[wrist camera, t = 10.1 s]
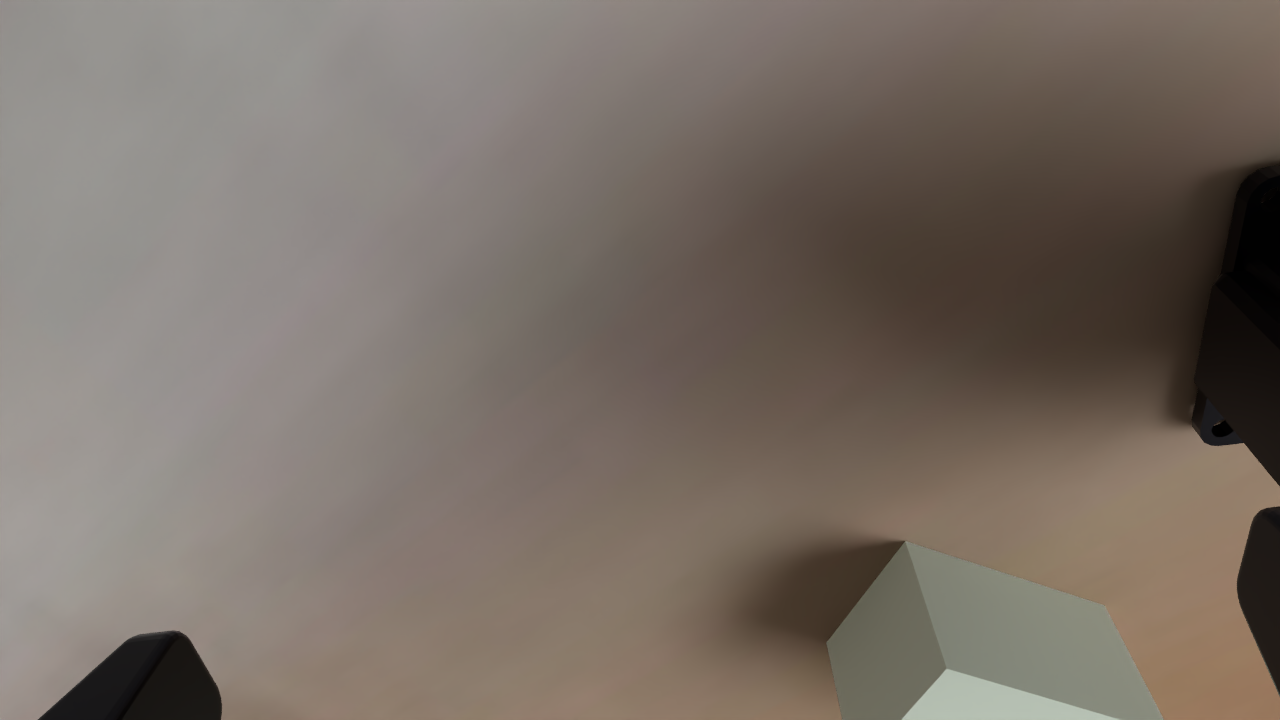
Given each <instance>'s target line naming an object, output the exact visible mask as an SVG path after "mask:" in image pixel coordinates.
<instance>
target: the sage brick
mask: <svg viewBox="0 0 1280 720" xmlns="http://www.w3.org/2000/svg"><path fill="white" fill-rule="evenodd" d="M827 648H828V653H829V658H830V663H831V667H832V672H833V677H834V682H835V687H836V691H837V696H838V701H839V706H840V711H841V716H842V720H1164V719H1163V717H1162V715H1161V713H1160V711H1159V709H1158V707H1157V705H1156V703H1155V701H1154V700H1153V698H1152V696H1151V694H1150V692H1149V690H1148V688H1147V686H1146V684H1145V682H1144V680H1143V678H1142V676H1141V675H1140V673H1139V671H1138V669H1137V667H1136V665H1135V663H1134V661H1133V659H1132V657H1131V655H1130V653H1129V651H1128V650H1127V648H1126V646H1125V644H1124V642H1123V640H1122V638H1121V636H1120V634H1119V632H1118V630H1117V628H1116V626H1115V624H1114V623H1113V621H1112V619H1111V617H1110V615H1109V613H1108V611H1107V609H1106V607H1105V605H1102V604H1099V603H1096V602H1093V601H1090V600H1086V599H1083V598H1080V597H1077V596H1074V595H1071V594H1068V593H1065V592H1062V591H1059V590H1056V589H1052V588H1049V587H1046V586H1043V585H1040V584H1037V583H1034V582H1031V581H1028V580H1025V579H1022V578H1018V577H1015V576H1012V575H1009V574H1006V573H1003V572H1000V571H997V570H994V569H991V568H987V567H984V566H981V565H978V564H975V563H972V562H969V561H966V560H963V559H960V558H957V557H953V556H950V555H947V554H944V553H941V552H938V551H935V550H932V549H929V548H926V547H922V546H919V545H916V544H913V543H910V542H907V541H905V542H904V543H903V545H902V546H901V547H900V548H899V550H898V551H897V552H896V554H895V555H894V556H893V557H892V559H891V560H890V561H889V563H888V564H887V565H886V566H885V568H884V569H883V570H882V572H881V573H880V574H879V576H878V577H877V578H876V579H875V581H874V582H873V583H872V585H871V586H870V587H869V588H868V590H867V591H866V592H865V594H864V595H863V596H862V597H861V599H860V600H859V601H858V603H857V604H856V605H855V606H854V608H853V609H852V610H851V612H850V613H849V614H848V615H847V617H846V618H845V619H844V621H843V622H842V623H841V624H840V626H839V627H838V628H837V630H836V631H835V632H834V634H833V635H832V636H831V637H830V639H829V640H828V641H827Z"/></svg>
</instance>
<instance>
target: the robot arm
mask: <svg viewBox="0 0 1280 720" xmlns="http://www.w3.org/2000/svg"><path fill="white" fill-rule="evenodd" d="M1276 187H1277V191H1276V193H1275V195H1274V196H1273V197H1272V198H1271V199H1269V200H1268V201H1266V202H1263V203H1261V202H1260V201H1261V199H1262V197H1263V195H1264V194H1265V193H1267V192H1268V191H1269V190H1271V189H1273V188H1276ZM1194 381H1195V384H1196V385H1197V386H1198V391H1197V396H1196V401H1195V406H1194V411H1193V416H1192V427H1193V428H1194V430H1195V431H1196V432H1197V433H1198V435H1199V436H1200V437H1201V439H1202V440H1203V441H1204V443H1207V444H1209V445H1213V446H1222V445H1230V444H1239V443H1244V444H1245V445H1246V446H1247V447H1248V448H1249V450H1250V451H1251V452H1252V453H1253V454H1254V456H1255V457H1256V458H1257V459H1258V461H1259V462H1260V463H1261V464H1262V465H1263V467H1264V468H1265V469H1266V470H1267V472H1268V473H1269V474H1270V475H1271V476H1272V478H1273V479H1274V480H1275V481H1276V482H1277V484H1278V485H1279V486H1280V165H1278V166H1270V167H1266V168H1263V169H1260V170H1257V171H1256V172H1254V173H1252V174H1251V175H1249V176H1248V177H1247V178H1246V179H1245V180H1244V182H1243V183H1242V184H1241V185H1240V188H1239V190H1238V192H1237V195H1236V200H1235V205H1234V210H1233V215H1232V220H1231V225H1230V230H1229V235H1228V240H1227V245H1226V250H1225V255H1224V260H1223V265H1222V270H1221V275H1220V276H1219V277H1218V279H1217V280H1216V281H1215V283H1214V284H1213V286H1212V290H1211V295H1210V300H1209V305H1208V311H1207V316H1206V321H1205V326H1204V331H1203V336H1202V341H1201V346H1200V351H1199V357H1198V362H1197V367H1196V372H1195V377H1194ZM1223 419H1225V420H1224V421H1223V422H1221V423H1220V424H1218V425H1215V426H1214V424H1216V423H1217V422H1218V421H1220V420H1223ZM1237 593H1238V599H1239V603H1240V606H1241V609H1242V611H1243V614H1244V616H1245V618H1246V621H1247V623H1248V625H1249V628H1250V630H1251V632H1252V634H1253V637H1254V639H1255V641H1256V644H1257V646H1258V648H1259V650H1260V653H1261V655H1262V657H1263V659H1264V662H1265V664H1266V666H1267V669H1268V671H1269V673H1270V675H1271V678H1272V680H1273V682H1274V685H1275V687H1276V689H1277V691H1278V694H1279V696H1280V507H1271V508H1265V509H1263V510H1260V511H1259V512H1258V513H1257V514H1256V516H1255V517H1254V518H1253V521H1252V524H1251V527H1250V531H1249V535H1248V539H1247V543H1246V547H1245V550H1244V554H1243V558H1242V562H1241V566H1240V570H1239V573H1238V578H1237ZM221 715H222V703H221V696H220V693H219V689H218V687H217V685H216V683H215V682H214V680H213V678H212V677H211V675H210V673H209V671H208V670H207V668H206V666H205V665H204V663H203V661H202V659H201V658H200V656H199V654H198V653H197V651H196V649H195V648H194V646H193V644H192V642H191V641H190V639H189V638H188V637H187V636H186V635H184V634H183V633H181V632H180V631H165V632H157V633H148V634H140V635H136V636H134V637H132V638H130V639H128V640H127V641H126V642H124V643H123V644H122V645H121V646H120V647H118V648H117V649H116V650H115V651H114V652H113V653H112V654H111V655H109V656H108V657H107V658H106V659H105V660H104V661H103V662H102V663H101V664H99V665H98V666H97V667H96V668H95V669H94V670H93V671H92V672H90V673H89V674H88V675H87V676H86V677H85V678H84V679H83V680H82V681H80V682H79V683H78V684H77V685H76V686H75V687H74V688H73V689H72V690H70V691H69V692H68V693H67V694H66V695H65V696H64V697H63V698H61V699H60V700H59V701H58V702H57V703H56V704H55V705H54V706H53V707H51V708H50V709H49V710H48V711H47V712H46V713H45V714H44V715H42V716H41V717H40V718H39V719H38V720H221Z"/></svg>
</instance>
